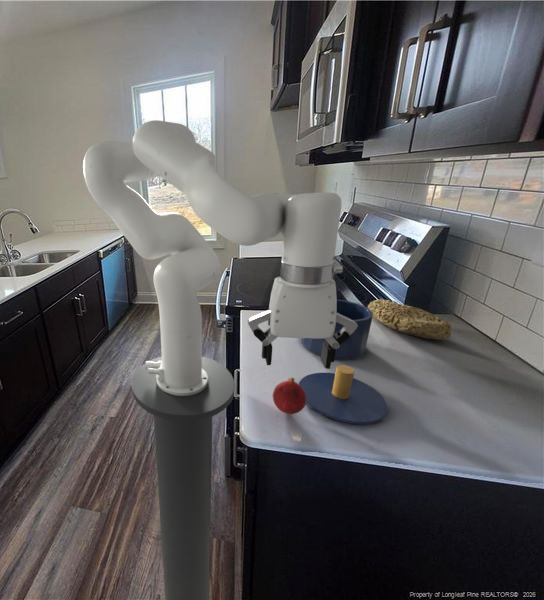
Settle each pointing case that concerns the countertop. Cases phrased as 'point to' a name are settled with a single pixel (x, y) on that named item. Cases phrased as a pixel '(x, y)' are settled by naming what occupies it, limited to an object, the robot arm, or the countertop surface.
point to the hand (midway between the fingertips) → (295, 362)
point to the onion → (289, 397)
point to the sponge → (410, 320)
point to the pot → (357, 339)
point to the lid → (343, 397)
